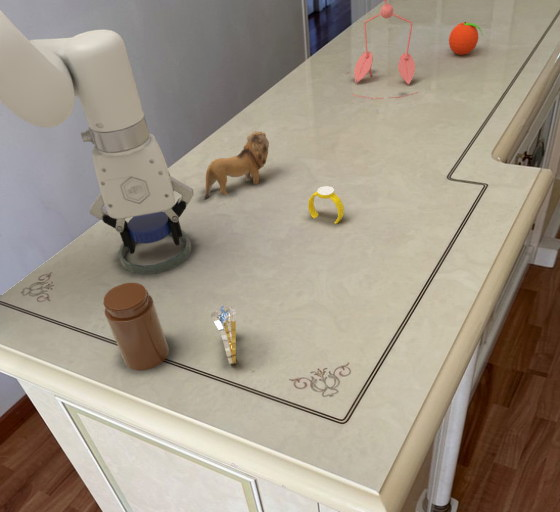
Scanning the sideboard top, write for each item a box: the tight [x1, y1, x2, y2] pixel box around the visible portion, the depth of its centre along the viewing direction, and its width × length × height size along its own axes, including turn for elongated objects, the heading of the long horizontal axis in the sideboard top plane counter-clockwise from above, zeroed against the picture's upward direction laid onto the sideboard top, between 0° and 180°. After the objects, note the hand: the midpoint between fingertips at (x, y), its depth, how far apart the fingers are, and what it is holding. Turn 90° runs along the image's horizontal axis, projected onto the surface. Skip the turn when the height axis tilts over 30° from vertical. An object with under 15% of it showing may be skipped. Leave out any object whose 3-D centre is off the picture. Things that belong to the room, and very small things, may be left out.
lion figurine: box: [203, 130, 270, 201], centre depth 105 cm, size 15×5×9 cm, turn 125°
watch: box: [307, 185, 345, 225], centre depth 95 cm, size 6×3×6 cm, turn 57°
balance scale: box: [345, 0, 419, 100], centre depth 124 cm, size 15×26×35 cm, turn 65°
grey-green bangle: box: [117, 229, 192, 276], centre depth 94 cm, size 11×11×2 cm
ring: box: [210, 303, 238, 365], centre depth 74 cm, size 7×3×8 cm, turn 5°
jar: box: [103, 282, 170, 371], centre depth 74 cm, size 6×6×11 cm
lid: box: [127, 211, 171, 245], centre depth 91 cm, size 7×7×2 cm
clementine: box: [448, 21, 483, 56], centre depth 143 cm, size 8×7×7 cm
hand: (154, 243), depth 93 cm, fingers closed on lid, 6 cm apart
